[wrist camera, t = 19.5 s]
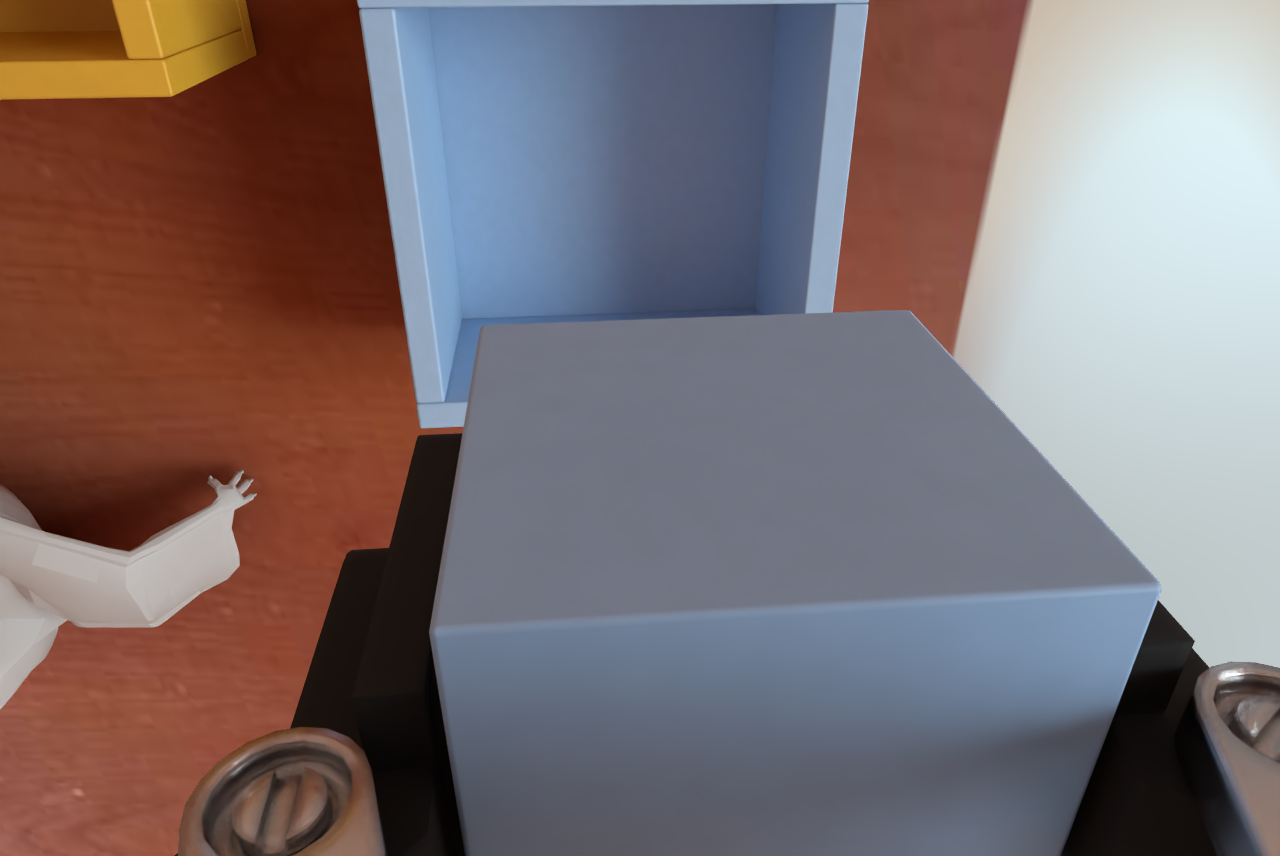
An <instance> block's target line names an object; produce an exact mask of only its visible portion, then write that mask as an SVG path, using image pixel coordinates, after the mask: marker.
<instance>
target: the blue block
mask: <svg viewBox="0 0 1280 856" xmlns="http://www.w3.org/2000/svg"><path fill="white" fill-rule="evenodd" d="M1160 593H1161V585H1160V582H1159V581H1158V580H1157V579H1156V578H1155V577H1154V576H1153V574H1151V572H1150V571H1149V570H1148V569H1147V568H1146V567H1145V566H1144V565H1143V564H1142V562H1141V561H1140V560H1139V559H1138V558H1137V557H1136V556H1135V555H1134V554H1133V553H1132V552H1131V551H1130V549H1129V548H1128V547H1127V546H1126V545H1125V544H1124V543H1123V542H1122V541H1121V540H1120V539H1119V537H1118V536H1117V535H1116V534H1115V533H1114V532H1113V531H1112V530H1111V529H1110V528H1109V527H1108V525H1107V524H1106V523H1105V522H1104V521H1103V520H1102V519H1101V518H1100V517H1099V516H1098V515H1097V514H1096V512H1094V510H1093V509H1092V508H1091V507H1090V506H1089V505H1088V504H1087V503H1086V502H1085V500H1084V499H1083V498H1082V497H1081V496H1080V495H1079V494H1078V493H1077V492H1076V491H1075V490H1074V489H1073V487H1072V486H1070V484H1069V483H1068V482H1067V481H1066V480H1065V479H1064V478H1063V477H1062V475H1061V474H1060V473H1059V472H1058V471H1057V470H1056V469H1055V468H1054V467H1053V466H1052V465H1051V464H1050V463H1049V461H1048V460H1047V459H1046V458H1045V457H1044V456H1043V455H1042V454H1041V453H1040V452H1039V451H1038V449H1037V448H1036V447H1035V446H1034V445H1033V444H1032V443H1031V442H1030V441H1029V440H1028V439H1027V437H1026V436H1025V435H1024V434H1023V433H1022V432H1021V431H1020V430H1019V429H1018V428H1017V427H1016V426H1015V424H1014V423H1013V422H1012V421H1011V420H1010V419H1009V418H1008V417H1007V416H1006V415H1005V413H1004V412H1003V411H1002V410H1001V409H1000V408H999V407H998V406H997V405H996V404H995V403H994V402H993V400H991V398H990V397H989V396H988V395H987V394H986V393H985V392H984V391H983V390H982V388H980V386H979V385H978V384H977V383H976V382H975V381H974V380H973V379H972V378H971V377H970V376H969V374H968V373H967V372H966V371H965V370H964V369H963V368H962V367H961V366H960V365H959V364H958V362H957V361H956V360H955V359H954V358H953V357H952V356H951V355H950V354H949V353H948V352H947V350H946V349H945V348H944V347H943V346H942V345H941V344H940V343H939V342H938V341H937V340H936V338H935V337H934V336H933V335H932V334H931V333H930V332H929V331H928V330H927V329H926V328H925V327H924V325H923V324H922V323H921V322H920V321H919V320H918V319H917V318H916V317H915V316H914V315H913V313H912V312H911V311H909V310H888V311H861V312H833V313H806V314H778V315H751V316H723V317H696V318H668V319H641V320H613V321H586V322H558V323H531V324H503V325H484V326H482V327H481V329H480V333H479V339H478V345H477V350H476V356H475V362H474V368H473V374H472V380H471V386H470V392H469V398H468V404H467V410H466V416H465V422H464V428H463V434H462V440H461V446H460V451H459V457H458V463H457V469H456V475H455V481H454V487H453V493H452V499H451V505H450V511H449V517H448V523H447V529H446V535H445V541H444V547H443V553H442V558H441V564H440V570H439V576H438V582H437V588H436V594H435V600H434V606H433V612H432V618H431V624H430V630H429V635H430V641H431V647H432V653H433V660H434V666H435V672H436V678H437V684H438V691H439V697H440V703H441V709H442V715H443V722H444V728H445V734H446V740H447V746H448V753H449V759H450V765H451V771H452V778H453V784H454V790H455V796H456V802H457V809H458V815H459V821H460V827H461V833H462V840H463V846H464V852H465V856H1061V854H1062V851H1063V849H1064V846H1065V843H1066V841H1067V838H1068V835H1069V833H1070V830H1071V827H1072V825H1073V822H1074V820H1075V817H1076V814H1077V812H1078V809H1079V806H1080V804H1081V801H1082V799H1083V796H1084V793H1085V791H1086V788H1087V785H1088V783H1089V780H1090V777H1091V775H1092V772H1093V770H1094V767H1095V764H1096V762H1097V759H1098V756H1099V754H1100V751H1101V748H1102V746H1103V743H1104V741H1105V738H1106V735H1107V733H1108V730H1109V727H1110V725H1111V722H1112V720H1113V717H1114V714H1115V712H1116V709H1117V706H1118V704H1119V701H1120V698H1121V696H1122V693H1123V691H1124V688H1125V685H1126V683H1127V680H1128V677H1129V675H1130V672H1131V669H1132V667H1133V664H1134V662H1135V659H1136V656H1137V654H1138V651H1139V648H1140V646H1141V643H1142V641H1143V638H1144V635H1145V633H1146V630H1147V627H1148V625H1149V622H1150V619H1151V617H1152V614H1153V612H1154V609H1155V606H1156V604H1157V601H1158V598H1159V595H1160Z"/></svg>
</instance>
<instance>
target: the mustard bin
mask: <svg viewBox="0 0 1280 856" xmlns="http://www.w3.org/2000/svg"><path fill="white" fill-rule="evenodd" d="M254 56H256V49H255V44H254V39H253V34H252V29H251V24H250V19H249V14H248V9H247V5H246V0H0V100H9V99H70V98H131V97H172V96H174V95H176V94H178V93H180V92H182V91H184V90H186V89H188V88H190V87H193V86H195V85H197V84H199V83H201V82H203V81H205V80H207V79H209V78H211V77H213V76H215V75H217V74H219V73H221V72H223V71H225V70H227V69H230V68H232V67H234V66H236V65H238V64H240V63H242V62H244V61H246V60H248V59H250V58H252V57H254Z"/></svg>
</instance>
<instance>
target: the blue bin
mask: <svg viewBox="0 0 1280 856" xmlns="http://www.w3.org/2000/svg"><path fill="white" fill-rule="evenodd" d="M868 2H869V0H357V4H358V7H359V8H361V9H360V10H359V15H360V22H361V29H362V36H363V43H364V50H365V56H366V63H367V70H368V77H369V84H370V91H371V97H372V104H373V111H374V118H375V125H376V132H377V138H378V145H379V152H380V159H381V166H382V173H383V179H384V186H385V193H386V200H387V207H388V214H389V220H390V227H391V234H392V241H393V248H394V255H395V261H396V268H397V275H398V282H399V289H400V295H401V302H402V309H403V316H404V323H405V330H406V336H407V343H408V350H409V357H410V364H411V371H412V377H413V384H414V391H415V398H416V402H417V412H418V419H419V426H420V428H441V427H463V426H464V422H465V416H466V410H467V404H468V398H469V392H470V386H471V380H472V374H473V368H474V362H475V356H476V350H477V345H478V339H479V333H480V329H481V327H482V326H484V325H503V324H531V323H558V322H586V321H613V320H641V319H668V318H696V317H723V316H751V315H778V314H806V313H832V312H833V304H834V295H835V287H836V278H837V269H838V261H839V252H840V244H841V235H842V227H843V218H844V210H845V201H846V193H847V184H848V175H849V167H850V158H851V150H852V141H853V133H854V124H855V116H856V107H857V99H858V90H859V81H860V73H861V64H862V56H863V47H864V39H865V30H866V22H867V13H868V4H867V3H868Z"/></svg>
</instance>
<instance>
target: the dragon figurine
mask: <svg viewBox="0 0 1280 856" xmlns="http://www.w3.org/2000/svg"><path fill="white" fill-rule="evenodd" d="M243 472H244V470H243V469H241V470H240V471H236V472H235V474H234V475H233V478H232V479H231V480H230V481H229V483H228V485H222V484H221V483H220V482H219V481H218V480H217V479H213V477H212V476H209V477H208V482H206V483H208V484H209V485H210V486H212V487H213V488H214V490H215V492H216V495H217V496H216V500H215V501H214V502H213V503H212V505H210V506H208V507H206V508H204V509H202V510H201V511H199V512H197V513H195V514H193V515H191V516H189V517H187V518H185V519H183V520H181V521H179V522H177V523H175V524H173V525H171V526H170V527H168V528H166V529H164V530H162V531H160V532H158V533H156V534H154V535H152V536H150V537H149V538H148V539H147V540H146V541H145V542H144V543H142V544H141V545H139V546H138V547H136V548H134V549H132V550H130V551H126V550H120V549H114V548H109V547H104V546H100V545H96V544H92V543H88V542H84V541H80V540H76V539H72V538H68V537H64V536H60V535H56V534H52V533H48V532H45V531H42V530H41V528H40V527H39V525H38V523H37V522H36V520H35V519H34V517H33V516H32V514H31V513H30V511H29V510H28V509H27V508H26V507H25V506H24V505H23V504H22V502H21V501H20V500H19V499H18V498H17V497H16V496H15V495H14V494H13V493H12V492H11V491H9V490H8V489H7V488H6V487H5V486H3V485H1V484H0V709H1V708H2V707H3V706H4V704H5V703H6V702H7V701H8V700H9V699H10V698H11V697H12V695H13V694H14V693H15V691H16V690H17V689H18V688H19V686H20V685H21V684H22V682H23V681H24V680H25V679H26V677H27V676H28V675H29V673H30V672H31V671H32V670H33V669H34V668H35V667H36V666H37V665H38V664H39V663H40V662H41V661H43V660H44V659H45V658H46V656H47V654H48V652H49V650H50V649H51V647H52V645H53V642H54V639H55V637H56V634H57V631H58V626H60V625H61V624H62V623H64V622H65V621H67V620H69V621H71V623H72V624H74V625H76V626H78V627H156V626H159V625H160V624H162V623H163V622H165V621H166V620H168V619H169V618H170V617H171V616H173V615H174V614H175V613H176V612H178V611H179V610H180V609H181V608H183V607H184V606H185V605H186V604H188V603H189V602H190V601H191V600H193V599H194V598H195V597H196V596H198V595H199V594H200V593H202V592H204V591H206V590H207V589H209V588H211V587H213V586H215V585H217V584H219V583H221V582H223V581H225V580H227V579H228V578H229V577H230V576H231V575H232V574H233V572H234V571H235V570H236V569H237V568H238V567H239V566H240V562H239V552H238V549H237V545H236V542H235V539H234V535H233V532H232V522H233V516H234V510H235V509H237V508H239V507H241V506H243V505H244V504H246V503H248V502H250V501H251V500H253V499H254V496H256V495H257V494H251V493H250V494H248V495H247V496H245V497H243V496H242V495H241V494H243V493H244V492H245V491H246V490H247V489H248V487H249V486H250V483H251V482H252V481H253V480H254V479H253V478H251V479H245V480H244V481H243V482H242V483H241V485H239V486H238V487H237V488H236V486H235V485H236V484H237V483H238V481H239V480H240V478H241V476H242V475H241V474H242V473H243Z"/></svg>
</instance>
